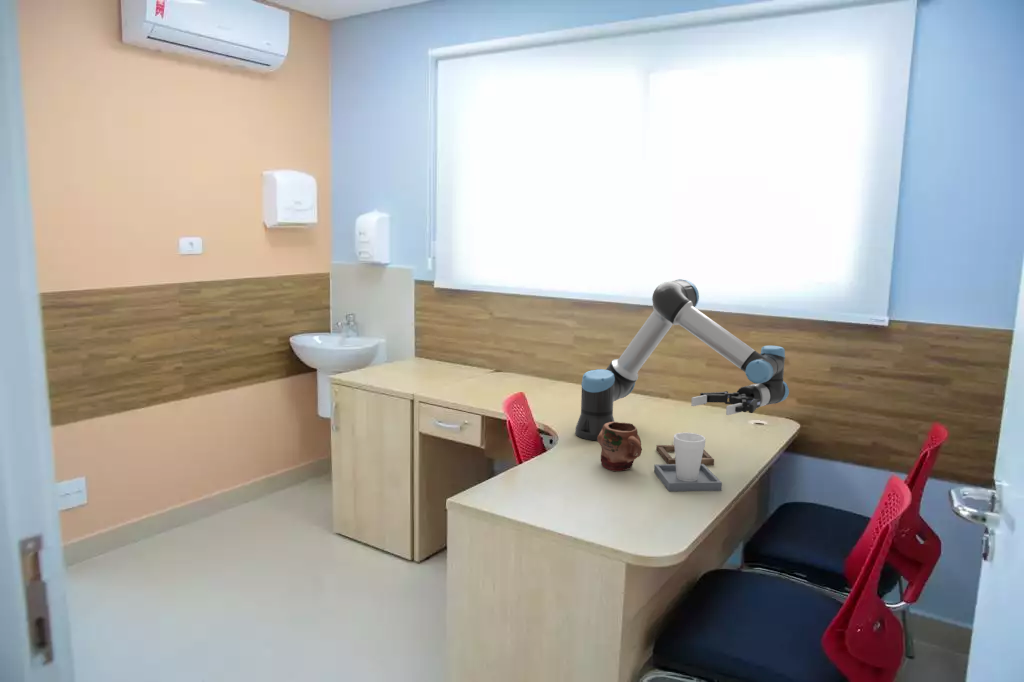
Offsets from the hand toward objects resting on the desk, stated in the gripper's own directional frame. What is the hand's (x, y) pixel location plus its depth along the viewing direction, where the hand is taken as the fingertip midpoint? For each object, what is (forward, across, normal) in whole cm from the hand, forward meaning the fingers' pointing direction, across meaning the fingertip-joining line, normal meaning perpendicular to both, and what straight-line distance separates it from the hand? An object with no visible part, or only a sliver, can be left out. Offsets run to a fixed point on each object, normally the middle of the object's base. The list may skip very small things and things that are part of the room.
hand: (709, 406), depth 225 cm
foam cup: (+10, 0, -21) cm, 23 cm away
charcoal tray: (+10, 0, -22) cm, 24 cm away
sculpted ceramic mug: (+19, +19, -22) cm, 35 cm away
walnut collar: (-6, +15, -22) cm, 27 cm away
